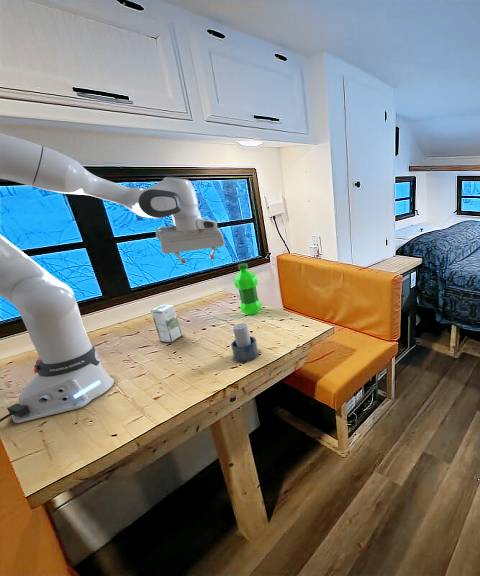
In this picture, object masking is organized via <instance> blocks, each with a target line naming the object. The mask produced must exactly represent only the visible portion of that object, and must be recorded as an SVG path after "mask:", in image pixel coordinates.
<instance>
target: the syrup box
mask: <svg viewBox="0 0 480 576" xmlns="http://www.w3.org/2000/svg"><path fill="white" fill-rule="evenodd" d="M150 313H151V316H152V319H153V322H154V326H155V329H156V333H157V335H158V339H159V341H160V342H164V343H165V342H166V343H173V342H174V341H176V340H178V339H179V338H180V337H182V336H183V334H182V330H181V327H180V323H179V320H178V316H177V312H176V309H175V305H171V304H162V305H159V306H157V307H154V308H153V309H150Z"/></svg>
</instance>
